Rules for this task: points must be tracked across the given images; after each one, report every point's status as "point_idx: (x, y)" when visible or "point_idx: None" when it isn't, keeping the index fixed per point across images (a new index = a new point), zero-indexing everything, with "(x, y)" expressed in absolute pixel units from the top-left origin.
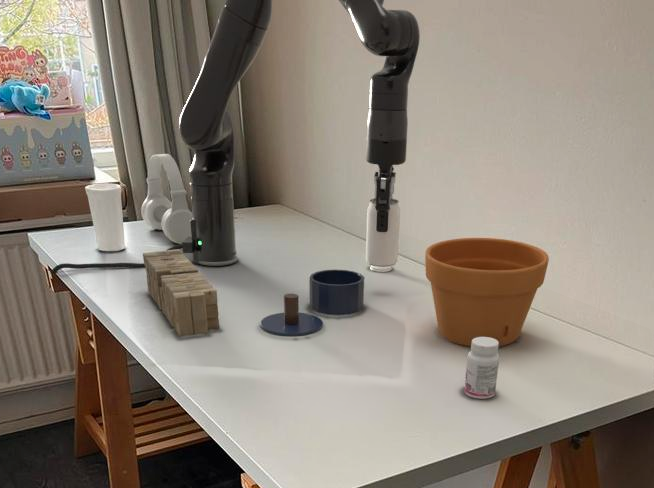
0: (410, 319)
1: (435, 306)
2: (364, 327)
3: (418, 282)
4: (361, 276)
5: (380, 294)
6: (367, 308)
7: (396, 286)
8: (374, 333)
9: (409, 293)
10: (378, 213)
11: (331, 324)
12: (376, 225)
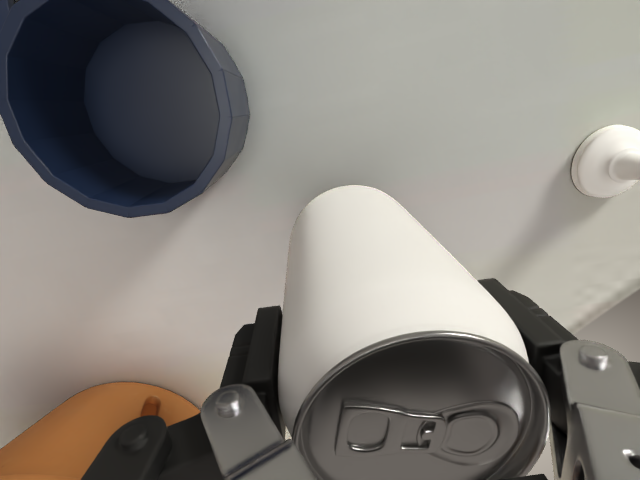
0: (166, 314)
1: (36, 429)
2: (52, 221)
3: None
4: (168, 202)
5: None
6: (207, 198)
7: None
8: (23, 253)
9: None
10: (246, 384)
11: None
12: (255, 322)
